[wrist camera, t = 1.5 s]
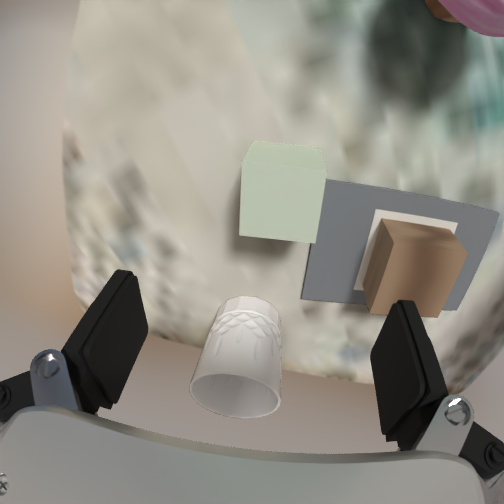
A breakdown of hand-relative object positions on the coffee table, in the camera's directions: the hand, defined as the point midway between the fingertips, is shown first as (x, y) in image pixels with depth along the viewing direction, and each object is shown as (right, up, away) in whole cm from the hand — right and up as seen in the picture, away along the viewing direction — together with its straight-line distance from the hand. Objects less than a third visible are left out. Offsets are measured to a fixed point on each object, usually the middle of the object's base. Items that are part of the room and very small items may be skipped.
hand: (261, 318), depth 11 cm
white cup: (-1, -5, +22) cm, 23 cm away
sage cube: (+2, +8, +13) cm, 16 cm away
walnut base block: (+14, +2, +15) cm, 20 cm away
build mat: (+14, +2, +15) cm, 21 cm away
